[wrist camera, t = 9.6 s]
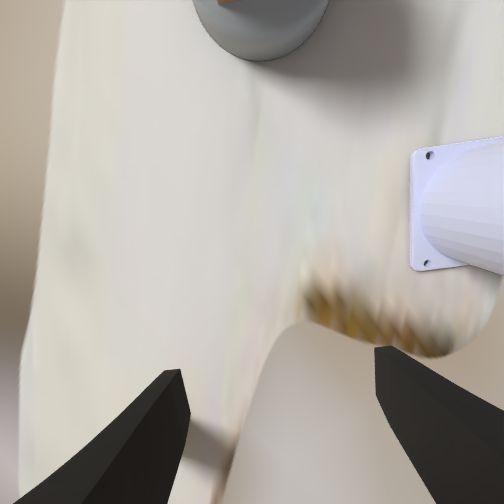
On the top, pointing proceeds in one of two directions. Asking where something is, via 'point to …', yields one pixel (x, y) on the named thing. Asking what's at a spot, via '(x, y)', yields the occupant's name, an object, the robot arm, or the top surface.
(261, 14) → the grey rounded dome
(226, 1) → the walnut block
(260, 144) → the top surface
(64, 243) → the top surface
